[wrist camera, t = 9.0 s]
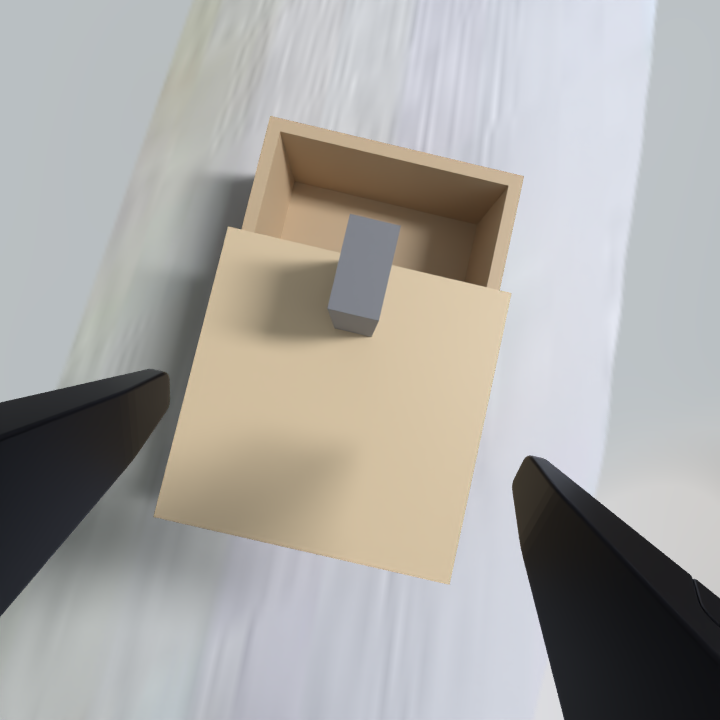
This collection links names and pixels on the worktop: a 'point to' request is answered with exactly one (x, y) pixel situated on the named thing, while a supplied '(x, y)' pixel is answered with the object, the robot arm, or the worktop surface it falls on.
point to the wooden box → (384, 200)
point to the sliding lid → (336, 402)
